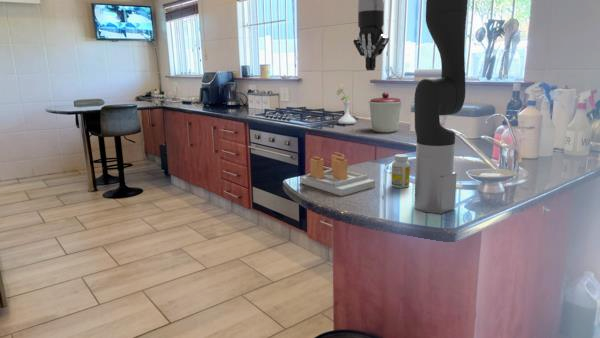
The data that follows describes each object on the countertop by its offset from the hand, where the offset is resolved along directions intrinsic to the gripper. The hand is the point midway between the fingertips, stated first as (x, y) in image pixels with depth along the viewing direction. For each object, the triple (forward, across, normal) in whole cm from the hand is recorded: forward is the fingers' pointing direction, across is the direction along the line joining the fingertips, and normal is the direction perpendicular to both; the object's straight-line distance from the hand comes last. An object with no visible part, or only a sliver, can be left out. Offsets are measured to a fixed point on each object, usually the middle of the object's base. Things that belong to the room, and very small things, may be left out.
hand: (370, 70), depth 132 cm
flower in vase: (+35, +100, -84) cm, 135 cm away
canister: (+35, +64, -79) cm, 108 cm away
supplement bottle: (+35, -11, -2) cm, 37 cm away
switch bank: (+35, +3, +11) cm, 37 cm away
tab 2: (+33, +7, +7) cm, 34 cm away
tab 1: (+33, +8, +16) cm, 37 cm away
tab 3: (+33, +1, +11) cm, 35 cm away
